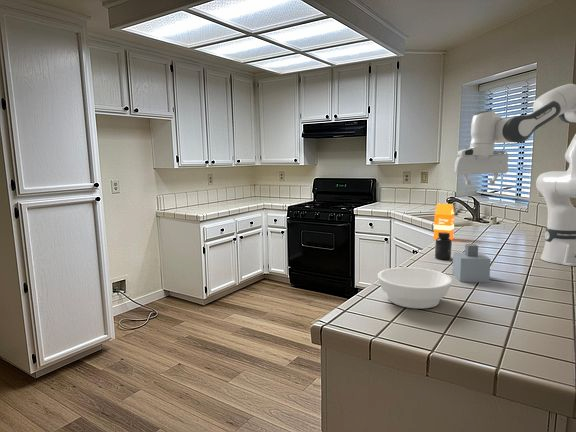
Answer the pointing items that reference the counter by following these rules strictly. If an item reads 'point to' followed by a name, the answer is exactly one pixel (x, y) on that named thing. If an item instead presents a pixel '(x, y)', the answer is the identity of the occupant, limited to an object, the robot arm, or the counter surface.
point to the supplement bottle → (443, 246)
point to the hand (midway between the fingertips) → (479, 184)
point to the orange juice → (444, 220)
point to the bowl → (414, 286)
